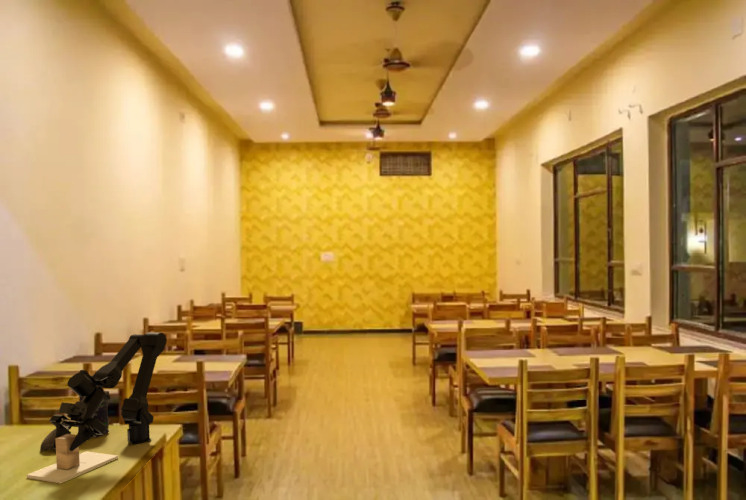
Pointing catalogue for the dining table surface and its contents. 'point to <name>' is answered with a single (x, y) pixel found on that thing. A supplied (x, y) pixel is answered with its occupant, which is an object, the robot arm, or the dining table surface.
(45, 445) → the stone
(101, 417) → the storage jar
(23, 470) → the dining table surface
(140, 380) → the robot arm
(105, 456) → the board
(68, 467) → the block
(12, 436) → the dining table surface
